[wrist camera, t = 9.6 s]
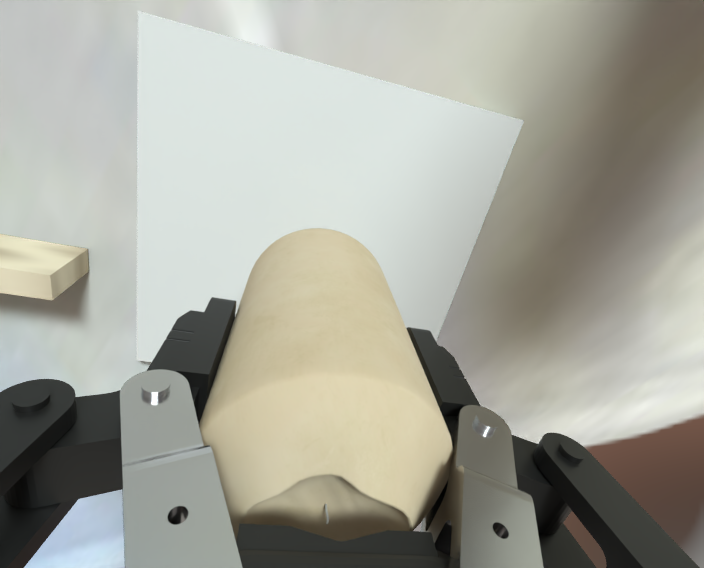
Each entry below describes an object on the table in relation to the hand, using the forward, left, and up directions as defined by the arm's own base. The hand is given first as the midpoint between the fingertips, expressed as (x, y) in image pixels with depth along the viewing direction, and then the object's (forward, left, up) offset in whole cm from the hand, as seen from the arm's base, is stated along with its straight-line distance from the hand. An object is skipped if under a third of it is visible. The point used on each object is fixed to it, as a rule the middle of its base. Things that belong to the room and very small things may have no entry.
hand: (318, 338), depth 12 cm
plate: (0, 0, -8) cm, 8 cm away
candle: (0, 0, -4) cm, 4 cm away
